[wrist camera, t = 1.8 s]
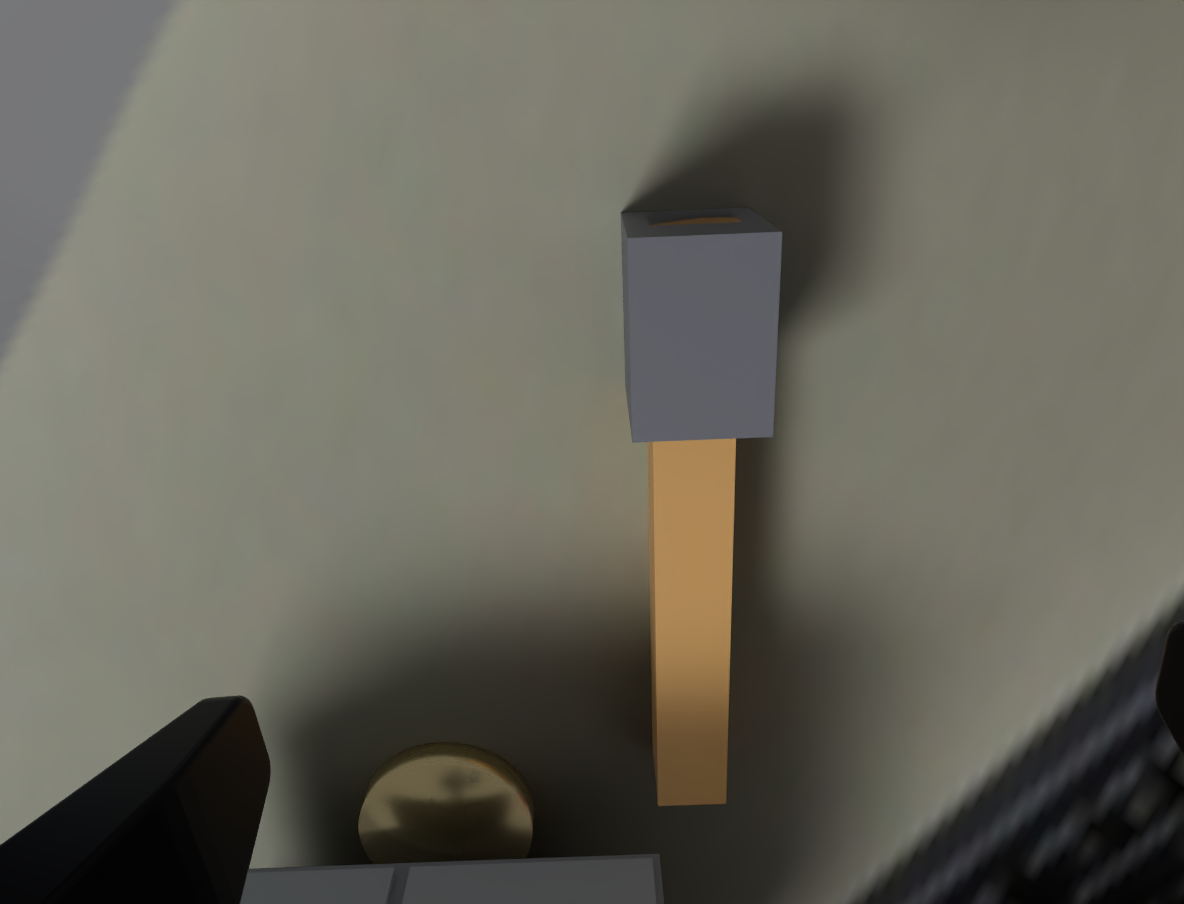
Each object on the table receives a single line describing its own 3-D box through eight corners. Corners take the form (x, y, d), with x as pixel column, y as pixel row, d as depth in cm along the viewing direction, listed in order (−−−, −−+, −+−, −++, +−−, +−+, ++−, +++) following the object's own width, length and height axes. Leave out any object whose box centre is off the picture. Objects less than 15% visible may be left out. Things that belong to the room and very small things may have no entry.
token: (528, 731, 25) (525, 761, 24) (540, 858, 27) (537, 891, 25) (356, 738, 25) (345, 768, 24) (380, 864, 27) (371, 897, 26)
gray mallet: (748, 207, 19) (782, 231, 15) (732, 744, 25) (754, 846, 21) (620, 212, 19) (627, 237, 15) (634, 747, 25) (642, 849, 21)
